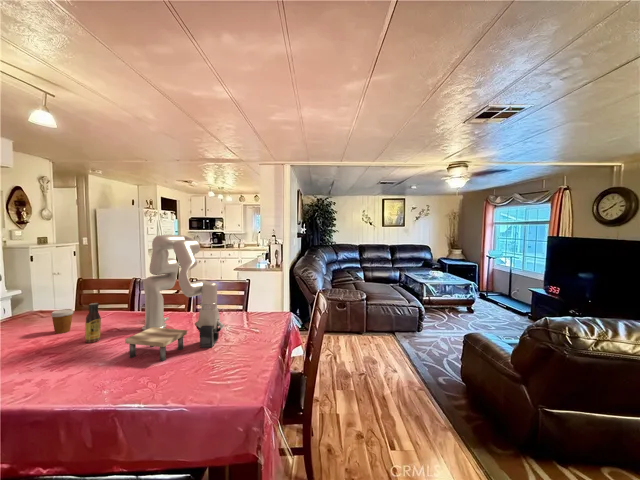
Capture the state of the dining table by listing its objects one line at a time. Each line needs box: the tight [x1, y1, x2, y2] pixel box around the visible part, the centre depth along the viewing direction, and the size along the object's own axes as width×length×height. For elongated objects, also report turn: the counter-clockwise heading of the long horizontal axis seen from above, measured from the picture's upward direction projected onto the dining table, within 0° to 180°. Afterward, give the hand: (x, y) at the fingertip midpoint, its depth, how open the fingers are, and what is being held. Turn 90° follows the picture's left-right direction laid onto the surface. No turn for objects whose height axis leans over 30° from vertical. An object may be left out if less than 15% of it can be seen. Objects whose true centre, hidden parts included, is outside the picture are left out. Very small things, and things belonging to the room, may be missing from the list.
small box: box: [199, 326, 219, 349], centre depth 143 cm, size 11×6×10 cm, turn 5°
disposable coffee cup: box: [50, 308, 75, 335], centre depth 155 cm, size 10×10×12 cm
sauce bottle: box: [84, 302, 102, 344], centre depth 143 cm, size 7×6×20 cm
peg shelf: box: [124, 327, 188, 362], centre depth 131 cm, size 16×20×9 cm
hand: (209, 339), depth 143 cm, fingers closed on small box, 7 cm apart
